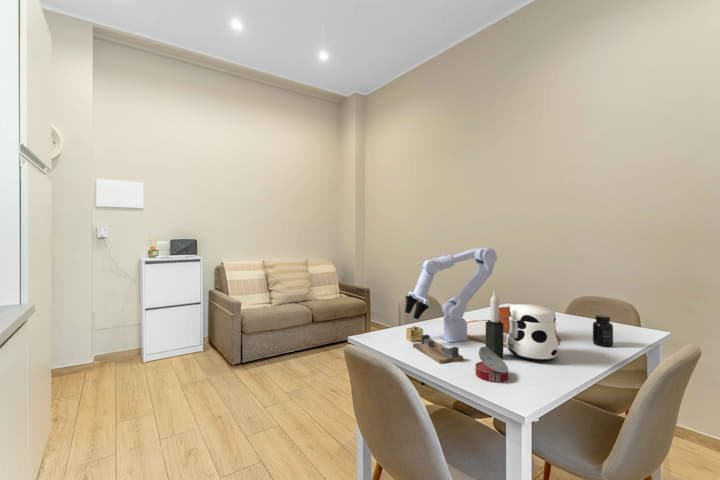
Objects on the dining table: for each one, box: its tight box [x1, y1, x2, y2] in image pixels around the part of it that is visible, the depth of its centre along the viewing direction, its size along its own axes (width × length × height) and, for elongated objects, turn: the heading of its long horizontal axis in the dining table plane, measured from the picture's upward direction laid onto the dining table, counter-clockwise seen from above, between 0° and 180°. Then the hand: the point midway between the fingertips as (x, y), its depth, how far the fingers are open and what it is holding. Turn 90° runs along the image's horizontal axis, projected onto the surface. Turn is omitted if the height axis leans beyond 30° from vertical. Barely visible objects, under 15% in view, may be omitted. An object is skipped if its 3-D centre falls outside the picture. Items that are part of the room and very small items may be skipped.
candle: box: [485, 290, 504, 359], centre depth 123 cm, size 5×5×25 cm
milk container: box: [506, 303, 559, 362], centre depth 124 cm, size 17×17×18 cm
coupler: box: [405, 326, 424, 343], centre depth 143 cm, size 6×4×6 cm, turn 110°
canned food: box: [475, 346, 509, 384], centre depth 107 cm, size 11×10×10 cm
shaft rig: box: [412, 333, 464, 364], centre depth 127 cm, size 10×19×4 cm, turn 20°
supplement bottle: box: [592, 314, 614, 348], centre depth 137 cm, size 7×7×12 cm
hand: (411, 315), depth 142 cm, fingers open, 7 cm apart
